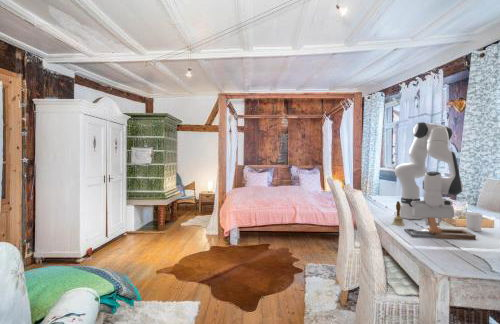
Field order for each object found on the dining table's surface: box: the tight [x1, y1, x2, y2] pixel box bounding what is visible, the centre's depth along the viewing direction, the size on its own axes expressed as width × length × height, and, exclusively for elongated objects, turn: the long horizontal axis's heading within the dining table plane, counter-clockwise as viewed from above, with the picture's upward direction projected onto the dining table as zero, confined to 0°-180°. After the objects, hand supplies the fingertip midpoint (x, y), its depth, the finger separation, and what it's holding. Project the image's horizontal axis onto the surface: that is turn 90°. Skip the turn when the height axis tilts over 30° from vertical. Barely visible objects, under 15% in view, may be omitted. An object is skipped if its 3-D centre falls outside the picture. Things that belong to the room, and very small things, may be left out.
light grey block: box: [420, 228, 431, 235], centre depth 160 cm, size 4×4×3 cm
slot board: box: [434, 228, 477, 241], centre depth 158 cm, size 14×19×3 cm
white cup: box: [465, 211, 483, 232], centre depth 172 cm, size 8×8×10 cm
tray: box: [403, 228, 437, 239], centre depth 161 cm, size 12×12×2 cm
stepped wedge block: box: [426, 218, 442, 235], centre depth 160 cm, size 5×5×10 cm
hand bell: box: [390, 200, 405, 226], centre depth 183 cm, size 8×8×16 cm
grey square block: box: [412, 228, 423, 235], centre depth 161 cm, size 4×4×3 cm
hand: (432, 225), depth 160 cm, fingers closed on stepped wedge block, 4 cm apart
